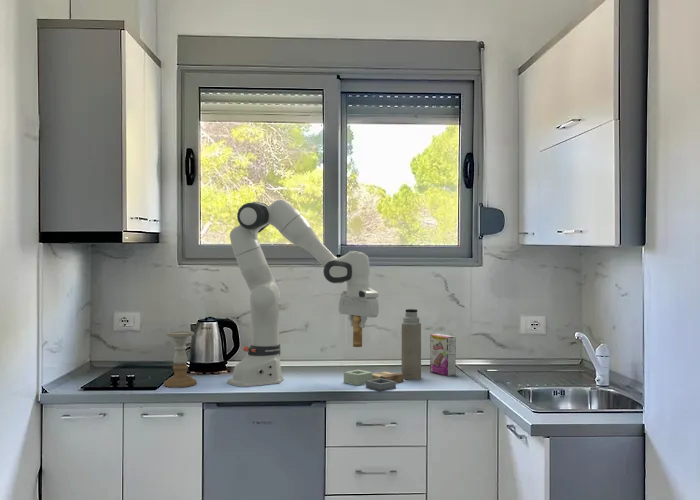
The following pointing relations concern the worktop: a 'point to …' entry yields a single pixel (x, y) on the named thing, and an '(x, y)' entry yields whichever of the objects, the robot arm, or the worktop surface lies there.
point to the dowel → (357, 332)
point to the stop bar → (394, 377)
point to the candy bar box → (443, 354)
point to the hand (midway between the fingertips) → (357, 327)
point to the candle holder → (180, 361)
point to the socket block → (357, 377)
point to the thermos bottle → (411, 345)
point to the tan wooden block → (377, 375)
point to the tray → (381, 384)
